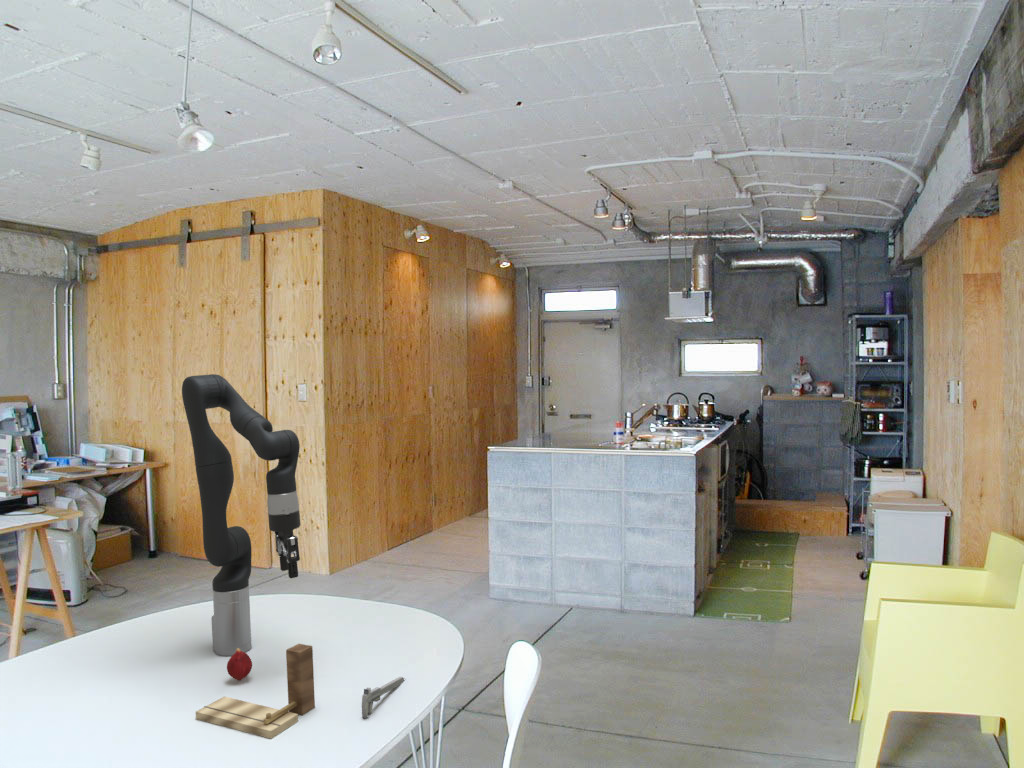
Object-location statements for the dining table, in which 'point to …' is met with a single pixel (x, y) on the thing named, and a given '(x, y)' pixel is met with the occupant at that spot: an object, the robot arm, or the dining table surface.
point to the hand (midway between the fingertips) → (289, 573)
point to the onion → (239, 665)
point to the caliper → (376, 695)
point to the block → (298, 682)
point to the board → (245, 717)
